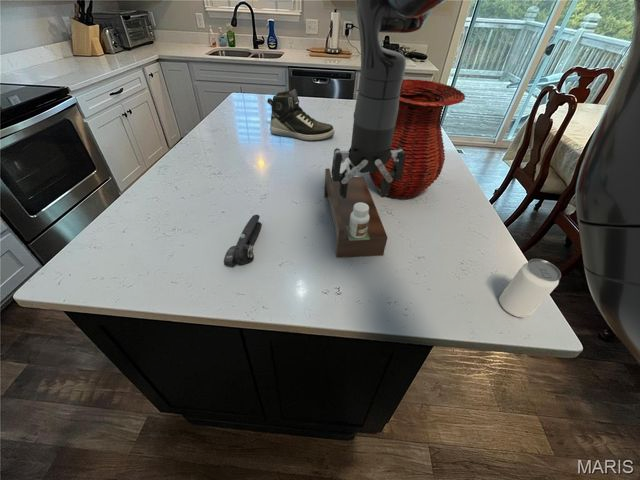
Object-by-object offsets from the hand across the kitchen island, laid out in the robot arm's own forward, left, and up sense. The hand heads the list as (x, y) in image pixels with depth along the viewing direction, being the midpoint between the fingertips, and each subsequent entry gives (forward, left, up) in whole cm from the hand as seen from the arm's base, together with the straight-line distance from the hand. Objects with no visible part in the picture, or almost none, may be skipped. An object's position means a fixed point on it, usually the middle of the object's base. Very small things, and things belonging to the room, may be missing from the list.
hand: (363, 195), depth 64 cm
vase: (+29, -20, -17) cm, 39 cm away
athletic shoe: (+71, +10, -17) cm, 74 cm away
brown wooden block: (+12, -1, -17) cm, 21 cm away
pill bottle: (0, 0, -11) cm, 11 cm away
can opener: (+4, +27, -17) cm, 32 cm away
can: (-19, -32, -17) cm, 41 cm away
